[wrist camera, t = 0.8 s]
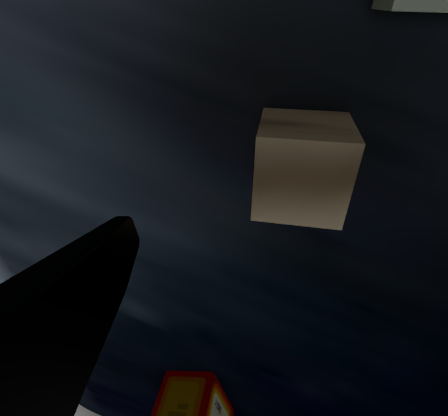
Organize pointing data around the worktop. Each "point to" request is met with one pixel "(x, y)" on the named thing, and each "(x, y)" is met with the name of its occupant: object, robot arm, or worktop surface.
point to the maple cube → (305, 167)
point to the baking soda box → (191, 395)
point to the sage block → (411, 5)
